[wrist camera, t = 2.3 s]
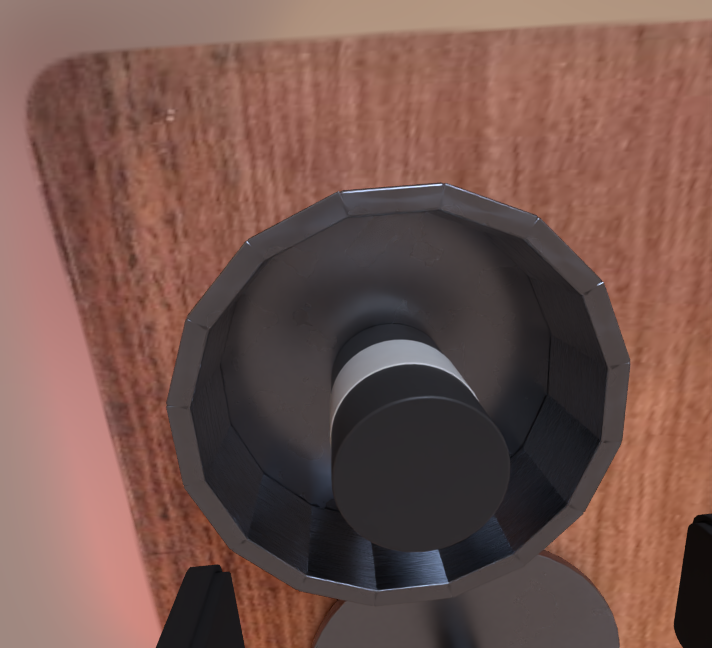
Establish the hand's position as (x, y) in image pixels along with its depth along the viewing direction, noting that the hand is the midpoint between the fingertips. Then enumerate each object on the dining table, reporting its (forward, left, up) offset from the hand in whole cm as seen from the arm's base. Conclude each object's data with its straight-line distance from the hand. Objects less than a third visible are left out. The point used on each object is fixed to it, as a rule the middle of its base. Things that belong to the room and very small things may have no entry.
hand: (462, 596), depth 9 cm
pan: (0, 0, -11) cm, 11 cm away
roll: (0, 0, -10) cm, 10 cm away
